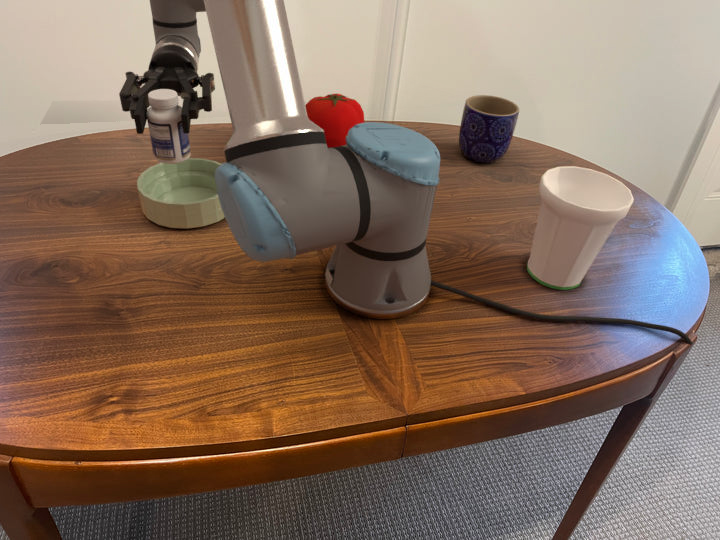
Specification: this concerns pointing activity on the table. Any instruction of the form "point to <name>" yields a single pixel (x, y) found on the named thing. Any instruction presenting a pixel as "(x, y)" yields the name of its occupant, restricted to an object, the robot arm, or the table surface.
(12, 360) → the table surface
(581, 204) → the cup
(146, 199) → the bowl
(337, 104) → the tomato
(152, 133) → the pill bottle
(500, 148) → the planter
